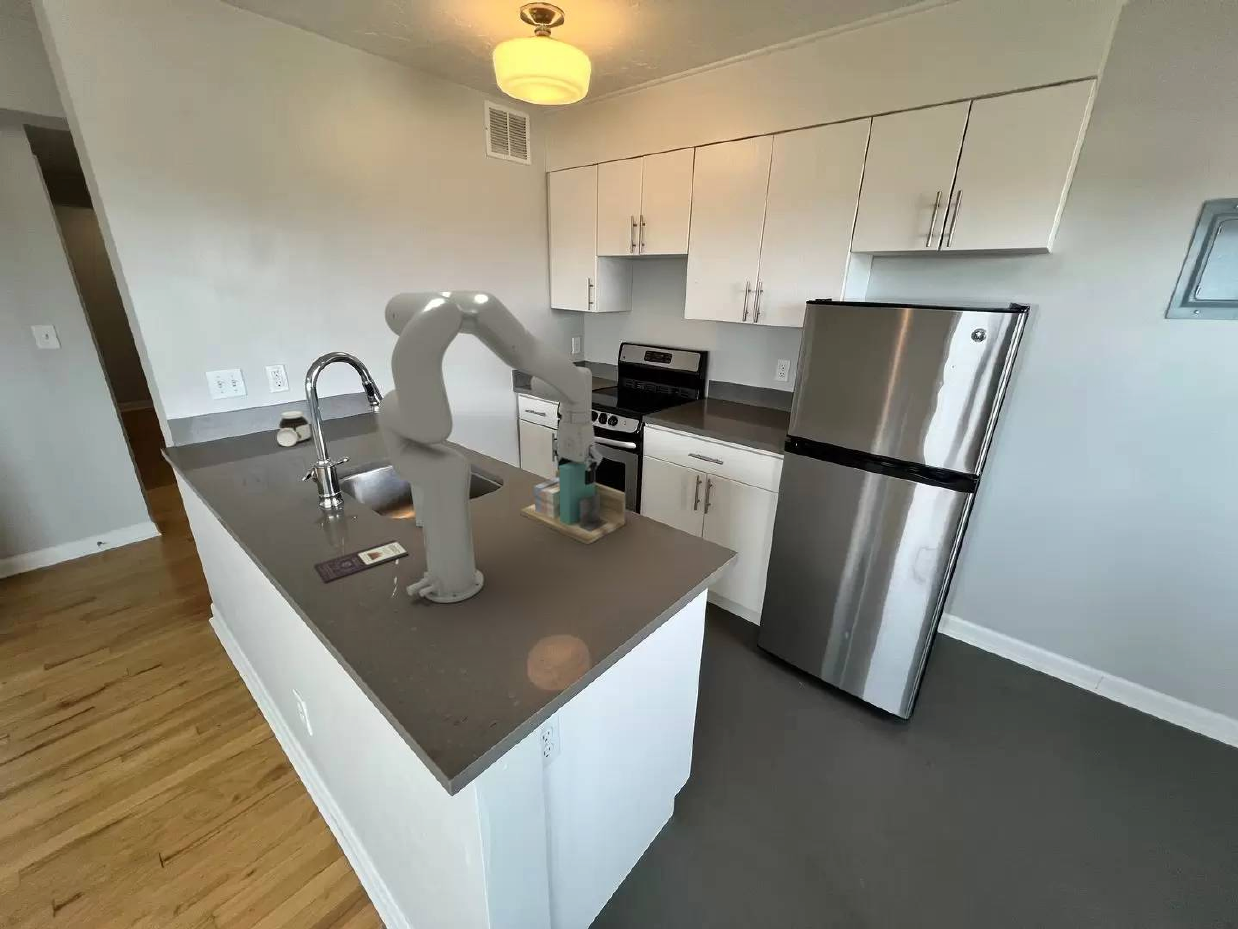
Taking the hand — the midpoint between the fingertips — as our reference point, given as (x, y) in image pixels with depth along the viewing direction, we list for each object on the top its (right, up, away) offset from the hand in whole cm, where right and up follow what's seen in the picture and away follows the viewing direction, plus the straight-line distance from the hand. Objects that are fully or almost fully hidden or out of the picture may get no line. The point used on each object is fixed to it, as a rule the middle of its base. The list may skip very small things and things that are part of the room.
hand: (576, 478), depth 133 cm
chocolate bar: (-49, -19, -16) cm, 55 cm away
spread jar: (-118, +12, +67) cm, 136 cm away
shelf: (-2, -12, +6) cm, 13 cm away
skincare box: (-40, -12, +4) cm, 42 cm away
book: (0, -11, +4) cm, 12 cm away
